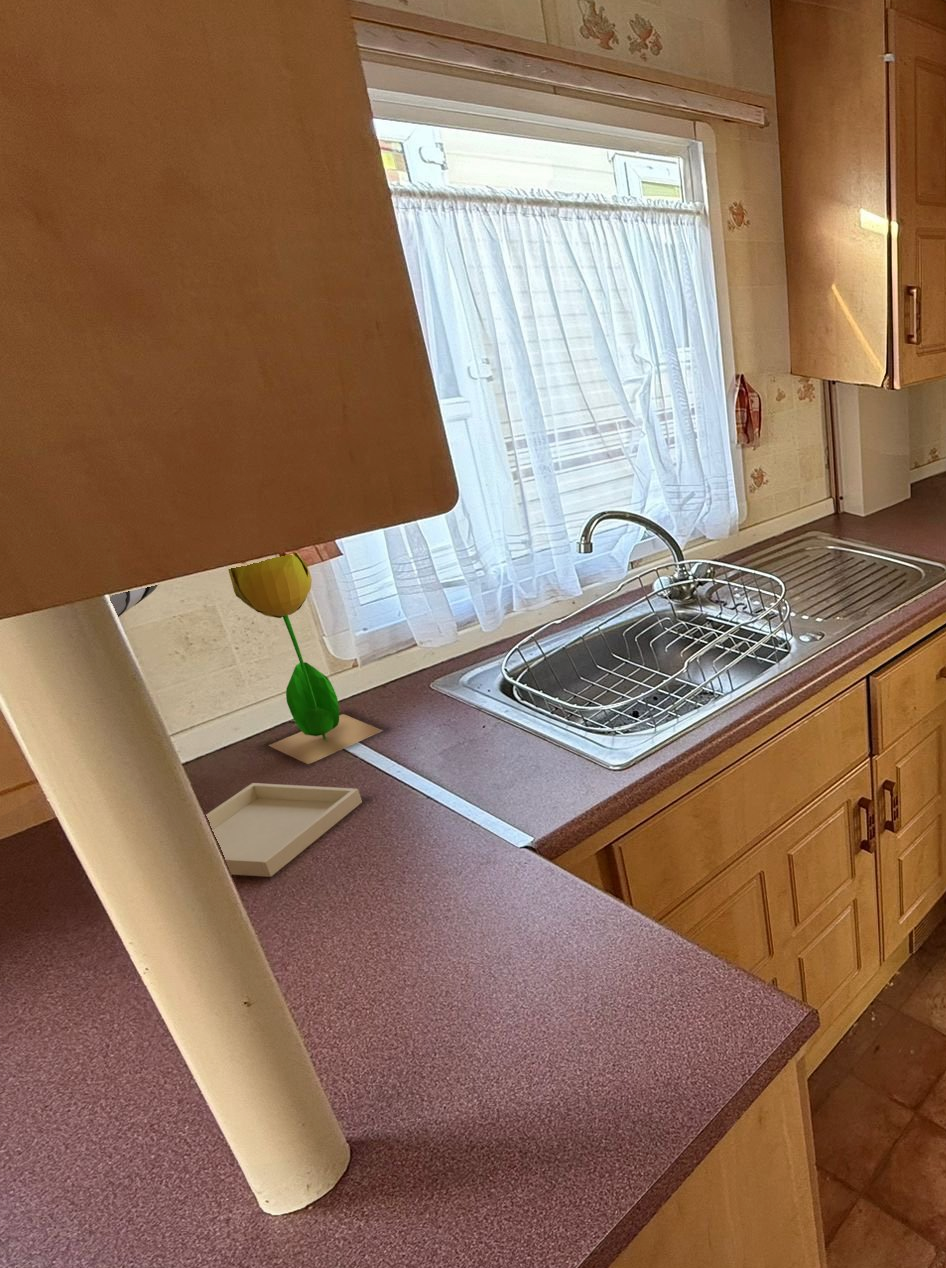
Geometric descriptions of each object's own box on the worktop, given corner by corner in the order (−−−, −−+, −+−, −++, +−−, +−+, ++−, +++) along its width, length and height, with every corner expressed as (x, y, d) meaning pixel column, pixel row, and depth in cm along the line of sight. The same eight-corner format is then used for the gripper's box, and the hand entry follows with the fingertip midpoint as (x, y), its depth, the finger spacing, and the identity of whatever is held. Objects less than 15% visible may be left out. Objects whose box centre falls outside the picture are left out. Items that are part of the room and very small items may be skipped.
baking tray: (153, 873, 100) (145, 855, 99) (258, 798, 113) (252, 782, 112) (272, 879, 99) (265, 862, 98) (363, 804, 112) (358, 788, 111)
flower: (362, 741, 125) (302, 550, 113) (291, 760, 120) (221, 563, 108) (355, 717, 131) (297, 533, 119) (288, 734, 126) (220, 544, 114)
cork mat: (309, 767, 119) (308, 764, 119) (268, 748, 123) (267, 745, 123) (384, 733, 128) (383, 730, 128) (344, 716, 132) (343, 713, 131)
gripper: (-79, 637, 77) (37, 573, 95) (271, 595, 88) (317, 544, 106) (-115, 559, 75) (11, 508, 92) (250, 525, 86) (300, 485, 103)
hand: (174, 527), depth 99 cm, fingers open, 13 cm apart
